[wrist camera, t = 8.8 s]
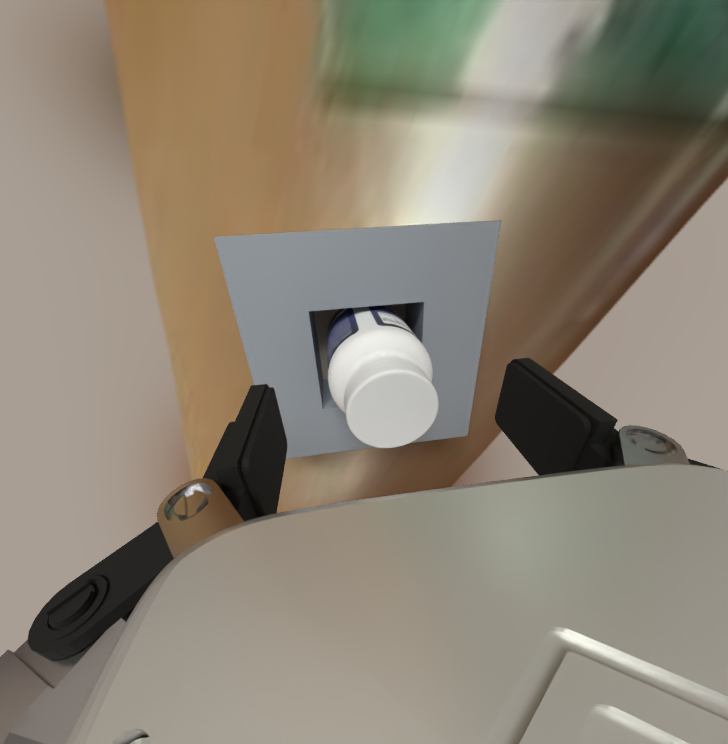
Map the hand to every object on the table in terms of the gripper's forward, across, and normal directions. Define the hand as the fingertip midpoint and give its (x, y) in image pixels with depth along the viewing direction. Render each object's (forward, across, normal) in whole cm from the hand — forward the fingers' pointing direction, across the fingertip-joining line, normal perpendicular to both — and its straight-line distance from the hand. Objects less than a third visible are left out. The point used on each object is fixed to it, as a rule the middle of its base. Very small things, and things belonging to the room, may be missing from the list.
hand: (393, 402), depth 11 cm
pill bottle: (+10, 0, +1) cm, 10 cm away
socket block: (+11, 0, +1) cm, 11 cm away
